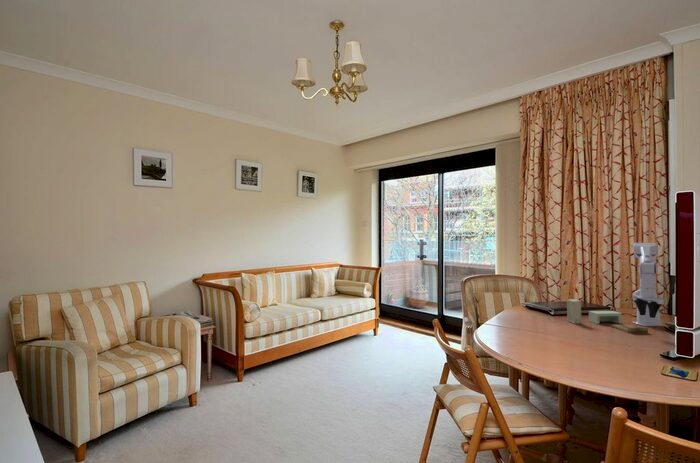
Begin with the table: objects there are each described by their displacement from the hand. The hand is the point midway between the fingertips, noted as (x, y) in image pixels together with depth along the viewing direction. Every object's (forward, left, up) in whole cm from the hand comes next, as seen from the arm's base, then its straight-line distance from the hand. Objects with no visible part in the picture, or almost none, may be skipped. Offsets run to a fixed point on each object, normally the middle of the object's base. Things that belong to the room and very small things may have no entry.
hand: (647, 316), depth 170 cm
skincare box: (+17, -27, -10) cm, 33 cm away
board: (0, -11, -10) cm, 14 cm away
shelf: (0, -26, -9) cm, 28 cm away
